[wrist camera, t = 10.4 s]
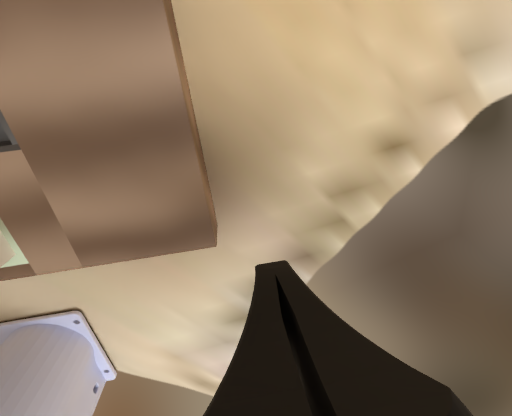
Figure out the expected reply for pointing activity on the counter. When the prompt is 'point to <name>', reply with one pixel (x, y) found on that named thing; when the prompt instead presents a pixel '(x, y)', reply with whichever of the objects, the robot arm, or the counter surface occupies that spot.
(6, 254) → the block
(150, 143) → the trap board
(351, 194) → the counter surface
